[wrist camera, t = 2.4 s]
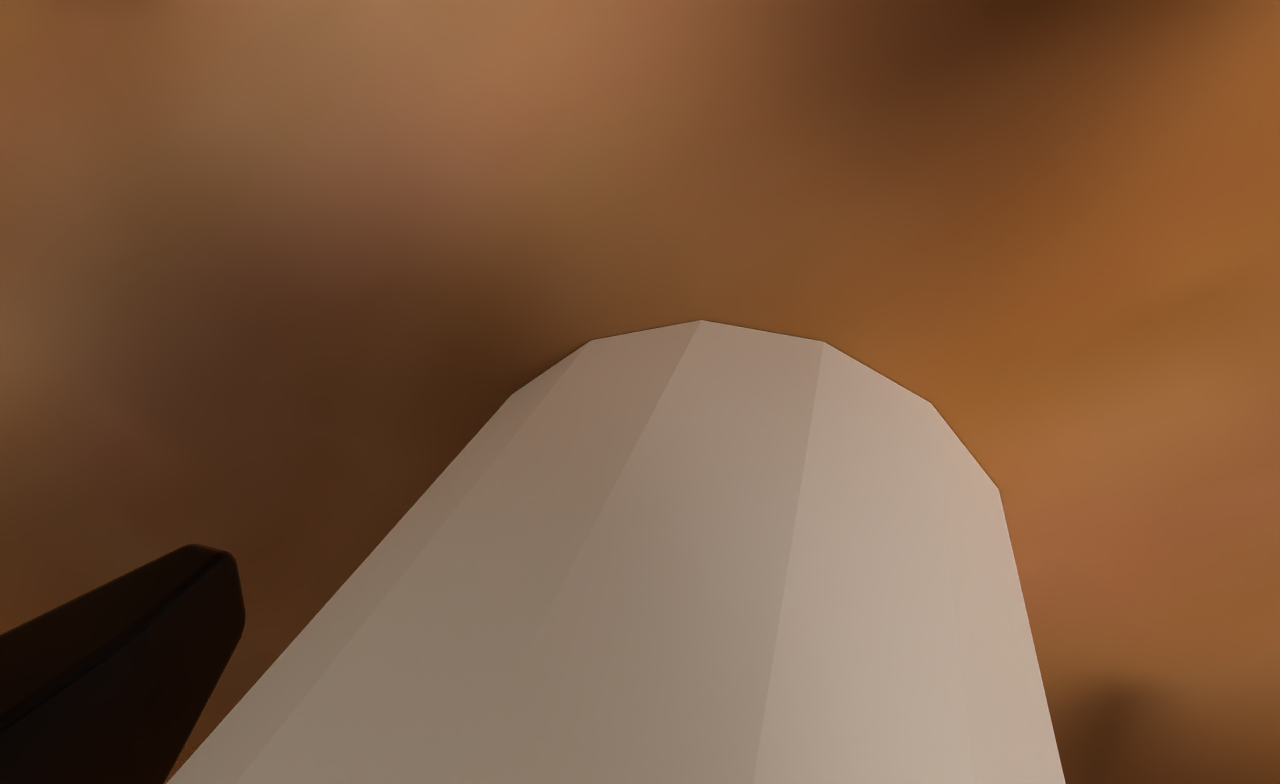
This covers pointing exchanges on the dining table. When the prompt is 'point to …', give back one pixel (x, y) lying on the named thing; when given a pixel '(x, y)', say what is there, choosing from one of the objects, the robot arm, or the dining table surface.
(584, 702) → the grey and white tumbler
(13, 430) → the dining table surface
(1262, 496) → the dining table surface
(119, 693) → the robot arm
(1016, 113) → the dining table surface
